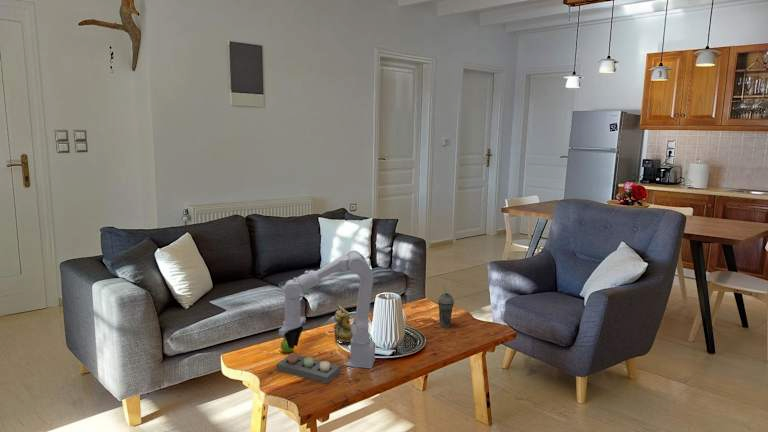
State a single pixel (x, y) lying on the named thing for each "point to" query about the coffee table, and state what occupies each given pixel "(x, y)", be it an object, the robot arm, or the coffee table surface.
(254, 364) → the coffee table surface
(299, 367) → the button panel
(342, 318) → the decorative figurine
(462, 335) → the coffee table surface
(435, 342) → the coffee table surface
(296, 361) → the terracotta button
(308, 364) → the sage button
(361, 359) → the robot arm
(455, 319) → the coffee table surface
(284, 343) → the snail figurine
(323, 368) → the cream button
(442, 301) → the beverage cup
